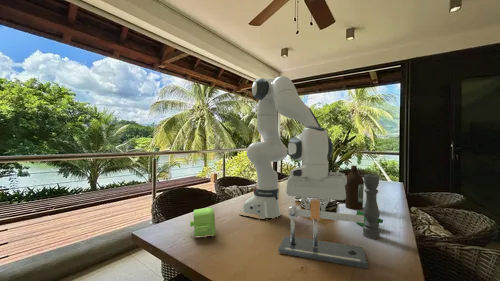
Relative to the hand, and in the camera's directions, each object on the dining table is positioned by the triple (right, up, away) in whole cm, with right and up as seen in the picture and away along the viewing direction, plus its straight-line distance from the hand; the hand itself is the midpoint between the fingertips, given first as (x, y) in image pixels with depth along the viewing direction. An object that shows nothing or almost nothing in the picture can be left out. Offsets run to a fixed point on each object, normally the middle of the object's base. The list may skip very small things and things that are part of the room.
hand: (315, 210), depth 81 cm
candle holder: (+27, -15, +13) cm, 34 cm away
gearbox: (-44, -15, +17) cm, 49 cm away
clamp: (+32, -15, +24) cm, 43 cm away
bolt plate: (+2, -15, -1) cm, 15 cm away
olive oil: (+39, -15, +55) cm, 69 cm away
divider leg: (0, -13, 0) cm, 13 cm away
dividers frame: (+3, -13, +1) cm, 14 cm away
